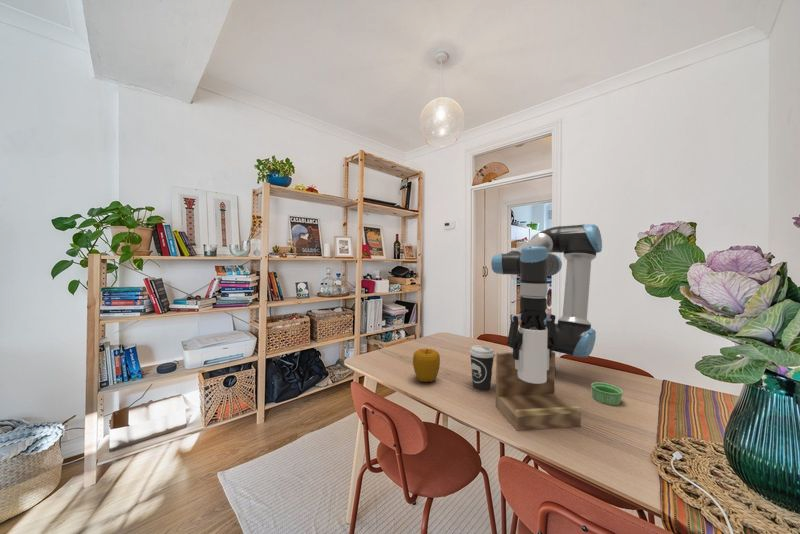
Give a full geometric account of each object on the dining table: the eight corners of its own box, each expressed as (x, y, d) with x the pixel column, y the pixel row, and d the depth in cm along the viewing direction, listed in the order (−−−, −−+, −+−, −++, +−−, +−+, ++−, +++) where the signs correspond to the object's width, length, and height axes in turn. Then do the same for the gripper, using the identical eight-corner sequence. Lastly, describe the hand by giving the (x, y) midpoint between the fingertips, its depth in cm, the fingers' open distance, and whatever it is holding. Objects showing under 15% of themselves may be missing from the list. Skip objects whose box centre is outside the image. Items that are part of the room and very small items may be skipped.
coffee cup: (496, 394, 104) (496, 353, 103) (469, 391, 105) (469, 351, 105) (492, 382, 113) (493, 345, 113) (468, 380, 115) (468, 344, 114)
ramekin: (615, 409, 94) (615, 396, 94) (585, 397, 101) (586, 385, 101) (626, 402, 99) (627, 389, 98) (597, 391, 106) (598, 380, 106)
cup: (518, 381, 86) (518, 328, 86) (517, 371, 94) (517, 323, 93) (548, 385, 83) (549, 331, 83) (544, 374, 91) (545, 325, 90)
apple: (420, 388, 108) (420, 354, 107) (408, 377, 118) (408, 346, 117) (445, 383, 112) (445, 351, 112) (431, 373, 122) (431, 343, 122)
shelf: (551, 403, 97) (552, 351, 97) (580, 426, 84) (582, 365, 83) (495, 406, 95) (496, 352, 94) (516, 430, 82) (518, 368, 81)
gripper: (556, 294, 93) (555, 363, 93) (495, 295, 90) (494, 366, 91) (573, 297, 85) (571, 372, 86) (507, 298, 83) (505, 375, 83)
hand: (531, 369), depth 88 cm, fingers closed on cup, 8 cm apart
